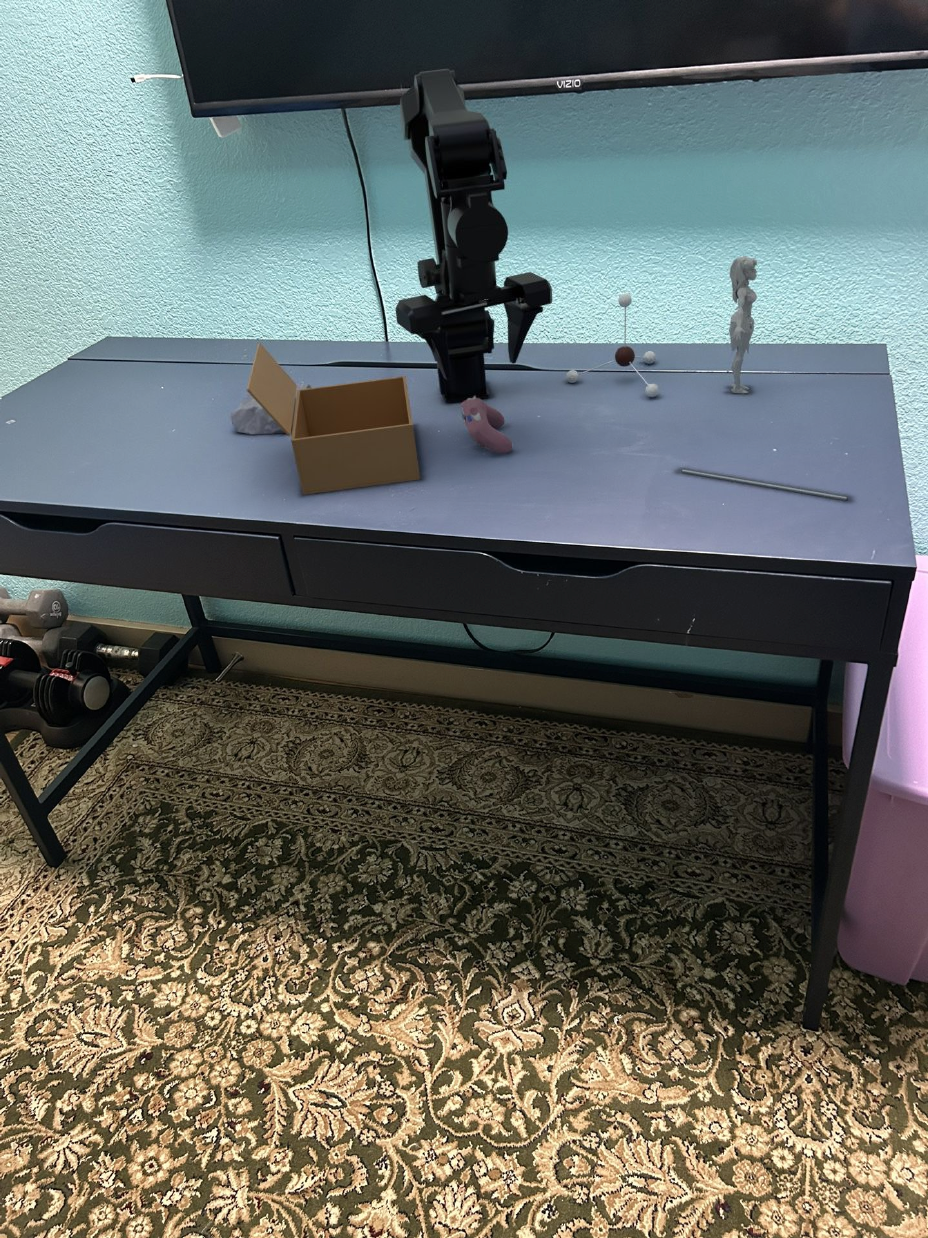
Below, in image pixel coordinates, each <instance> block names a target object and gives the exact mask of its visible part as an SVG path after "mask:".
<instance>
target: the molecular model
mask: <svg viewBox="0 0 928 1238" xmlns="http://www.w3.org/2000/svg"><path fill="white" fill-rule="evenodd" d="M632 301H633V300H632V296H631V295H630V294H629V293H622V294H621V295H620V296H619V297H618V301H617V302H618V305H619V306H620V307H622V308H624V345H623V346H621V347H618V349H617V350H616V352H615V354H614V359H613V360H610V361H608V362H605V363H603V364H600V365H597V366H595V367H593V368H590V369H587V370H585V371H582V372H577V370H575V369H571V370H569V371H568V372H566V377H565V378H566V380H567V382H569V383H573V384H574V383H577V381H578V380H579V376H580V375H583V374H585V373H588V372H590V371H594V370H596V369H598V368H601V367H603V366H606V365H609V364H611V363H613V362H616V364H617V365H618V366H620V367H629V366H631V367H632V368H633V369H634V371H635V372H636V373H637V374H638V376H639V377H640V378H641V379H642V381H643V382H644V383H645V385H647V386H646V387H645V394H646V395H647V397H650V398H654V397H656V396H657V395H658V394H659V391H660V389H659V386H658V385H657V384H656V383H648V382H647V380H645V378H644V377H643V376H642V374H640V372H639V371H638V370H637V369H636V367H635V366H634V365H633V363H634V361H635V359H643V361H644V362H645V364H649V365H650V364H653V363H654V362H655V361H656V357H657V356H656V353H654V352H653V351H649V350H648V351H646V352H644V354H643V356H636V353H635V351H634V349H633V348H631V347H630V346H627V344H626V341H627V339H626V338H627V308H628V307H629V306H631V304H632Z"/></svg>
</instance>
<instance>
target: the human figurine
mask: <svg viewBox="0 0 928 1238" xmlns="http://www.w3.org/2000/svg"><path fill="white" fill-rule="evenodd" d="M757 265H758V261H757V259H756V258H754V257H748V256H746V255H743V256H739V257H737V258H735V259H733V261H732V263H731V266H730V268H729V278H730V280H731V287H732V294H731V295H732V296H731V297H732V301H733V302H734V303H735V304H737V307H736V308H735V310H736V311H735V312H734V313H732V315H731V316H730V322H729V324H730V325H729V327H728V333H729V339H730V343H729V344H730V348H731V349H730V350H731V352H732V353H734V352H735V351H737V352H736V353H735V355H734V356H733V360H732V362H731V372H732V375H733V379H734V380H733V381H734V382H733V383H731V387H732V388H730V391H731V392H732V393H733V394H748V393H749V390H750V388H749V387H748V386H745V385H744V384H742V383H741V373H742V366H743V362H744V356H745V353H747V354H749V352H750V342H751V338H752V336H753V334H754V330H755V320H754V318H753V317H752V308H753V304H754V303H756V301H757V299H758V296H757V293H756V291H755V290H753V289H752V288H751V287H750V281H755V280H756V278H757V273H758V271H757V269H756V268H755V267H756V266H757Z"/></svg>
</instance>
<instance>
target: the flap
mask: <svg viewBox="0 0 928 1238" xmlns="http://www.w3.org/2000/svg"><path fill="white" fill-rule="evenodd" d="M296 383H297V382H295V381H294V380H293V379H292V378H291V377H290V375H289V374H288V373H287V372H286V371H285V370H284V369H283V367H282V366H281V365H280V364H279V363H278V362H277V360H276V359H275V358H274V357H273V356H272V355H271V353H270V352H269V351H268V350H267V349H266V348H265V347H264V346H263V345H262V343H261V342H258V344H257V347H256V351H255V355H254V358H253V363H252V366H251V371H250V374H249V379H248V383H247V387H246V392H247V393H248V395H251V396H252V397H253V398H254V399H255V400H256V401H257V402H258V403H259V404H260V406H261V407H262V408H263V409H264V410H265V411H266V412H267V413H268V414H269V415H270V416H271V418H272V419H273V420H274V421H275V422H276V423H277V424H278V425H279V426H280V427H281V428H282V430H283V431H284V432H285V433H284V434H286V436H288V437H290V436H291V435H292V429H291V426H292V419H293V411H294V403H295V395H296V388H297V385H296Z"/></svg>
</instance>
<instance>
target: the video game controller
mask: <svg viewBox="0 0 928 1238" xmlns="http://www.w3.org/2000/svg"><path fill="white" fill-rule="evenodd" d="M460 406H461V408H462V411H463V412H461V415H460V416H461V418H462V419H463V420H464V425H465V427H466V429H467V431H468V434H469V435H470V436H471V437H472V439H473V440H474V442H475V443H476V444H477V445H480V447H481V448H482V449H487V450H489V451H492V452H494V453H498V454H509V453H510V452H512V450H513V442H512V440H511V439H510V438H509V437H508V436H507V435H505V434H503V433H502V432H500V431H498V430H497V429H500V428H502V427H504V425H505V422H506V421H505V416H504V415H503V414H502V413H501V412H500V411H499V410H497V409H496V408H494V407H492V406H490V405H489V404H487V403H485V402H484V400H482V398H476V396H474V397H473V398H468V399H467V400H463V401H462V402H461V403H460ZM496 428H497V429H496Z"/></svg>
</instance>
